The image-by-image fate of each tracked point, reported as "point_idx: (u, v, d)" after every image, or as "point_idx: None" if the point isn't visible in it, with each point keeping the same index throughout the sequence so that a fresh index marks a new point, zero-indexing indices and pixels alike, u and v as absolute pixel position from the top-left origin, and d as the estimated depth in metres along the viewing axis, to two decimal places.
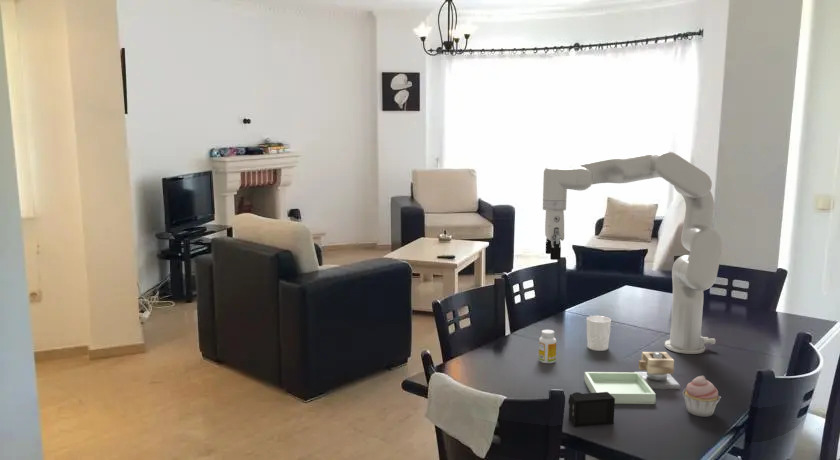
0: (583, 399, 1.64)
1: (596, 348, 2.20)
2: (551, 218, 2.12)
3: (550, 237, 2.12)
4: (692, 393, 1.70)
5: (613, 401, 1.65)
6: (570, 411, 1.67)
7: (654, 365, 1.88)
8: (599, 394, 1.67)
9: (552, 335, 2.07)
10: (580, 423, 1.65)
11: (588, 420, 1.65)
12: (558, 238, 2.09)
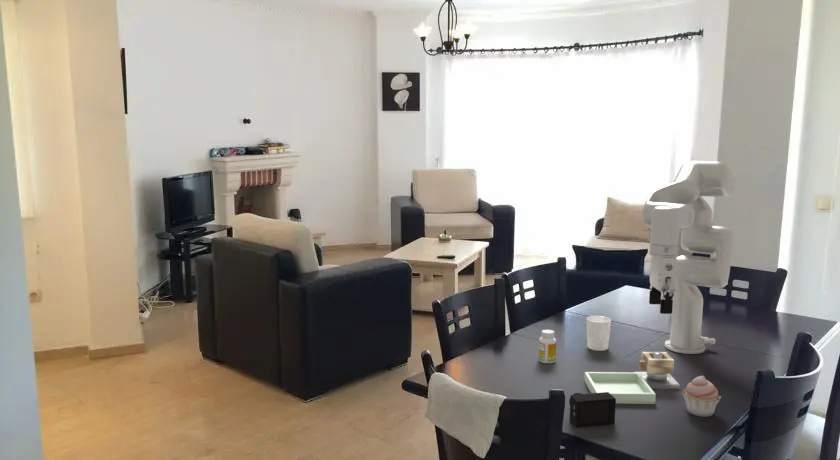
0: (585, 400, 1.64)
1: (596, 348, 2.20)
2: (662, 266, 1.83)
3: (660, 288, 1.84)
4: (692, 393, 1.70)
5: (614, 401, 1.65)
6: (571, 412, 1.67)
7: (654, 365, 1.88)
8: (600, 394, 1.67)
9: (552, 335, 2.07)
10: (581, 423, 1.64)
11: (590, 420, 1.65)
12: (672, 290, 1.80)
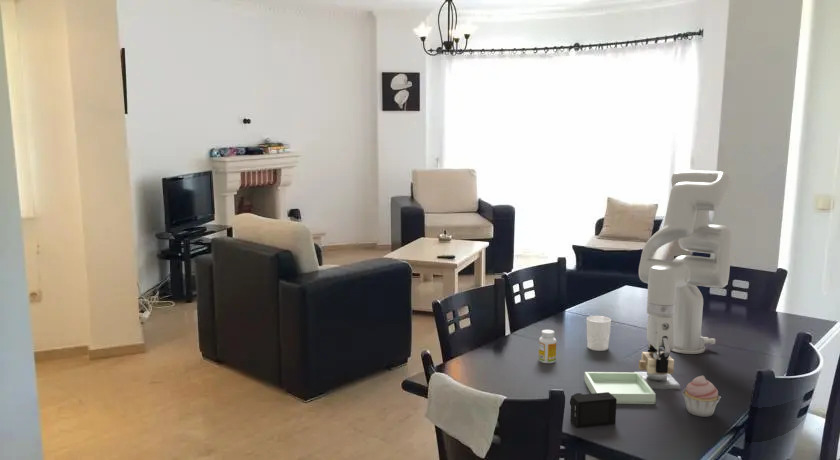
0: (586, 400, 1.64)
1: (596, 348, 2.20)
2: (659, 325, 1.85)
3: (657, 346, 1.86)
4: (692, 393, 1.70)
5: (615, 401, 1.65)
6: (572, 412, 1.66)
7: (654, 365, 1.88)
8: (600, 394, 1.67)
9: (552, 335, 2.07)
10: (582, 424, 1.64)
11: (591, 421, 1.64)
12: (668, 353, 1.83)
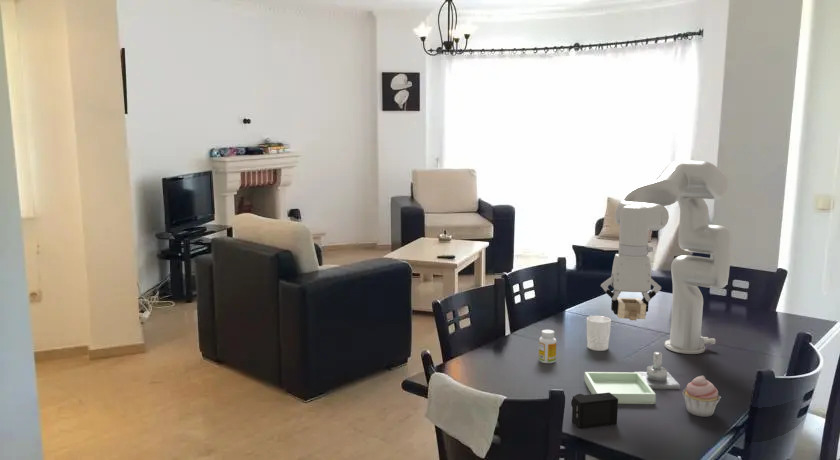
0: (587, 401, 1.63)
1: (596, 348, 2.20)
2: (650, 265, 1.79)
3: (649, 288, 1.80)
4: (693, 393, 1.70)
5: (616, 401, 1.65)
6: (574, 413, 1.66)
7: None
8: (602, 395, 1.67)
9: (552, 335, 2.07)
10: (584, 425, 1.64)
11: (592, 421, 1.64)
12: None
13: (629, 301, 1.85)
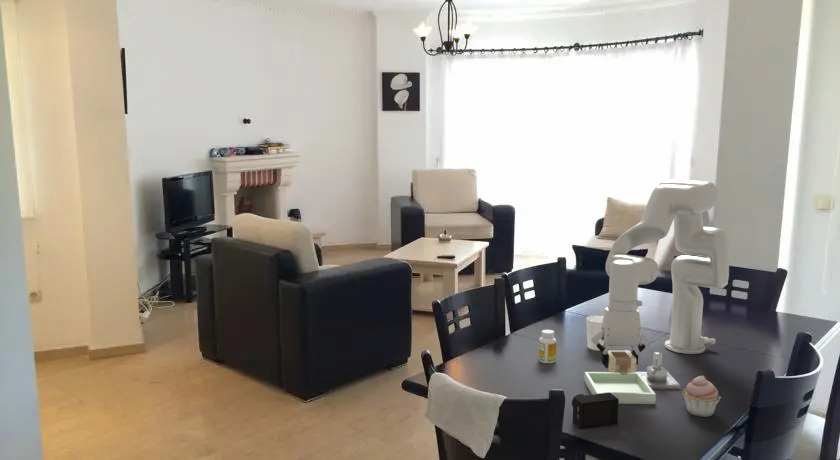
0: (588, 401, 1.63)
1: (596, 348, 2.20)
2: (639, 320, 1.81)
3: (639, 341, 1.81)
4: (692, 393, 1.70)
5: (617, 402, 1.65)
6: (574, 413, 1.66)
7: None
8: (602, 395, 1.67)
9: (552, 335, 2.07)
10: (585, 425, 1.63)
11: (593, 421, 1.64)
12: None
13: (619, 354, 1.86)
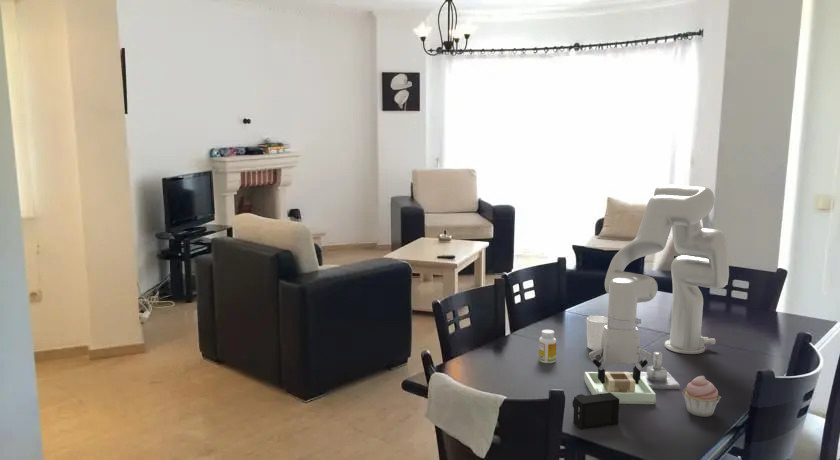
0: (589, 401, 1.63)
1: (596, 348, 2.20)
2: (638, 338, 1.81)
3: (638, 359, 1.82)
4: (692, 393, 1.70)
5: (618, 402, 1.65)
6: (575, 414, 1.65)
7: None
8: (603, 395, 1.67)
9: (552, 335, 2.07)
10: (586, 425, 1.63)
11: (594, 422, 1.64)
12: None
13: (618, 375, 1.87)
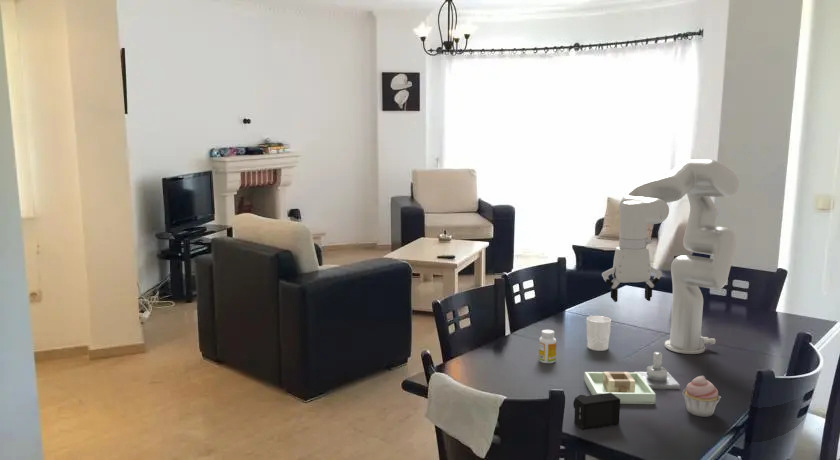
0: (590, 402, 1.63)
1: (596, 348, 2.20)
2: (649, 256, 1.91)
3: (649, 277, 1.92)
4: (692, 393, 1.70)
5: (618, 402, 1.65)
6: (576, 414, 1.65)
7: None
8: (604, 395, 1.66)
9: (552, 335, 2.07)
10: (587, 426, 1.63)
11: (595, 422, 1.64)
12: None
13: (618, 375, 1.87)
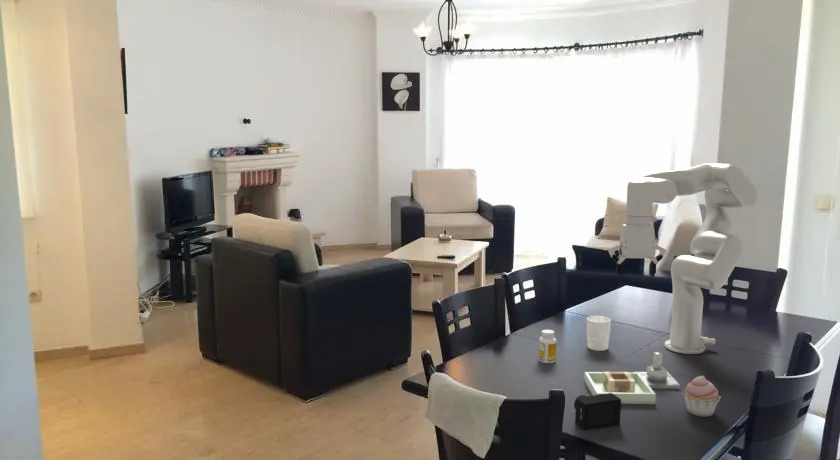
0: (592, 402, 1.62)
1: (596, 348, 2.20)
2: (654, 234, 1.99)
3: (654, 254, 2.00)
4: (693, 393, 1.70)
5: (619, 402, 1.64)
6: (577, 415, 1.65)
7: None
8: (604, 396, 1.66)
9: (552, 335, 2.07)
10: (589, 426, 1.63)
11: (596, 422, 1.63)
12: None
13: (618, 375, 1.87)
